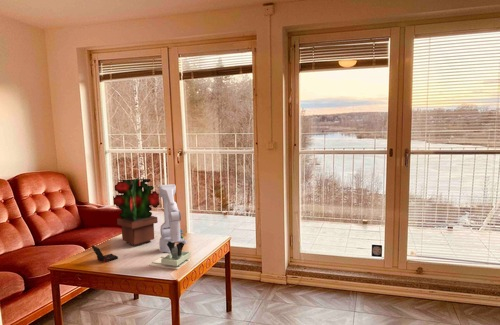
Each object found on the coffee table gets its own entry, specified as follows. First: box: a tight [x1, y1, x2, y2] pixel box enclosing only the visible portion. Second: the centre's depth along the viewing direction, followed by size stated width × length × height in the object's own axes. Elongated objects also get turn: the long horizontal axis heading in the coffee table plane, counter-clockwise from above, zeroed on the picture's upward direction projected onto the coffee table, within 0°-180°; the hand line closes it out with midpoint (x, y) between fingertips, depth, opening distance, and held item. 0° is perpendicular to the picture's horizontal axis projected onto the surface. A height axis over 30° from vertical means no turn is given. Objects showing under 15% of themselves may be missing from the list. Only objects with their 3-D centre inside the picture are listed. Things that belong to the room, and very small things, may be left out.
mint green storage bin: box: [161, 250, 192, 266], centre depth 195 cm, size 10×15×4 cm
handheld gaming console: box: [91, 245, 119, 264], centre depth 203 cm, size 9×12×10 cm
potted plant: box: [112, 177, 160, 247], centre depth 234 cm, size 22×22×45 cm
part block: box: [172, 245, 182, 259], centre depth 195 cm, size 4×4×6 cm
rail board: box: [149, 255, 191, 270], centre depth 197 cm, size 19×14×1 cm
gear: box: [180, 228, 185, 239], centre depth 241 cm, size 11×6×10 cm
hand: (176, 254), depth 195 cm, fingers closed on part block, 4 cm apart
